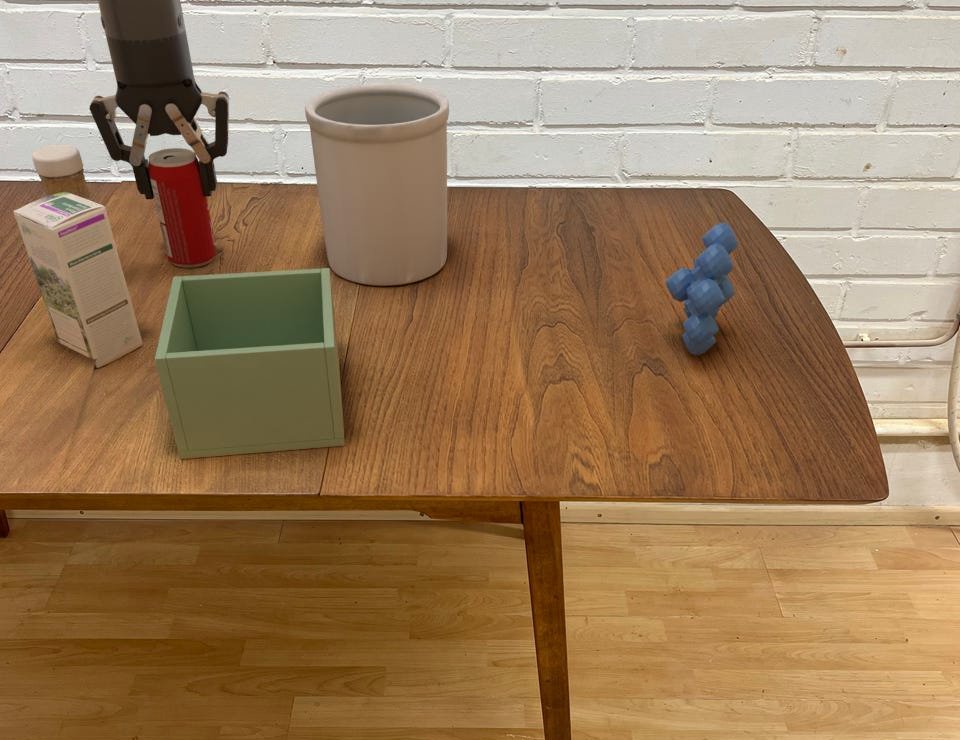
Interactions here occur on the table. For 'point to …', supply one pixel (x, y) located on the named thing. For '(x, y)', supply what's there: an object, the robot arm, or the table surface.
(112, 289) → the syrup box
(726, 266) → the grapes
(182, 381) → the bin
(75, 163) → the sprinkles bottle
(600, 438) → the table surface
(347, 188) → the utensil holder
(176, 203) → the soda can
